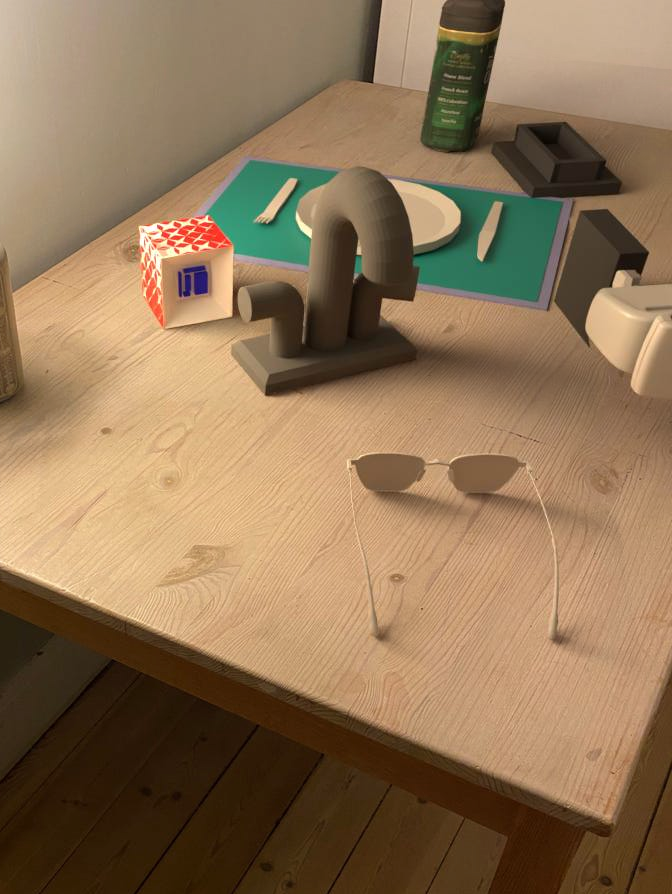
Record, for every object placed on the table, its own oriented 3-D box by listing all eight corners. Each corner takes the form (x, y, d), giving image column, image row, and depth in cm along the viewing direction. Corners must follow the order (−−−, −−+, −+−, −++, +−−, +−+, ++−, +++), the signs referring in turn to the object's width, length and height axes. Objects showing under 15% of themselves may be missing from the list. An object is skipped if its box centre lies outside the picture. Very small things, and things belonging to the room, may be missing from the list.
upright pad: (616, 345, 98) (649, 252, 91) (589, 347, 98) (620, 253, 91) (579, 299, 105) (607, 208, 98) (553, 301, 105) (579, 210, 98)
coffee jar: (468, 157, 133) (498, 3, 119) (413, 149, 135) (437, -4, 121) (483, 134, 139) (514, -16, 125) (431, 126, 141) (455, -22, 127)
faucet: (292, 437, 88) (310, 223, 73) (225, 355, 98) (229, 151, 83) (459, 395, 92) (506, 184, 78) (378, 320, 102) (407, 121, 88)
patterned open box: (208, 284, 108) (208, 215, 103) (232, 316, 103) (233, 245, 98) (141, 296, 107) (138, 226, 101) (162, 329, 102) (160, 258, 96)
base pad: (619, 194, 124) (629, 162, 121) (530, 199, 123) (538, 167, 120) (572, 148, 135) (580, 117, 132) (490, 152, 134) (497, 122, 131)
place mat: (166, 254, 115) (165, 235, 113) (244, 161, 134) (245, 144, 132) (545, 316, 104) (550, 296, 102) (571, 205, 123) (576, 187, 121)
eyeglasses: (519, 491, 82) (530, 453, 79) (567, 643, 70) (583, 605, 67) (342, 488, 83) (347, 451, 80) (359, 639, 71) (365, 601, 68)
